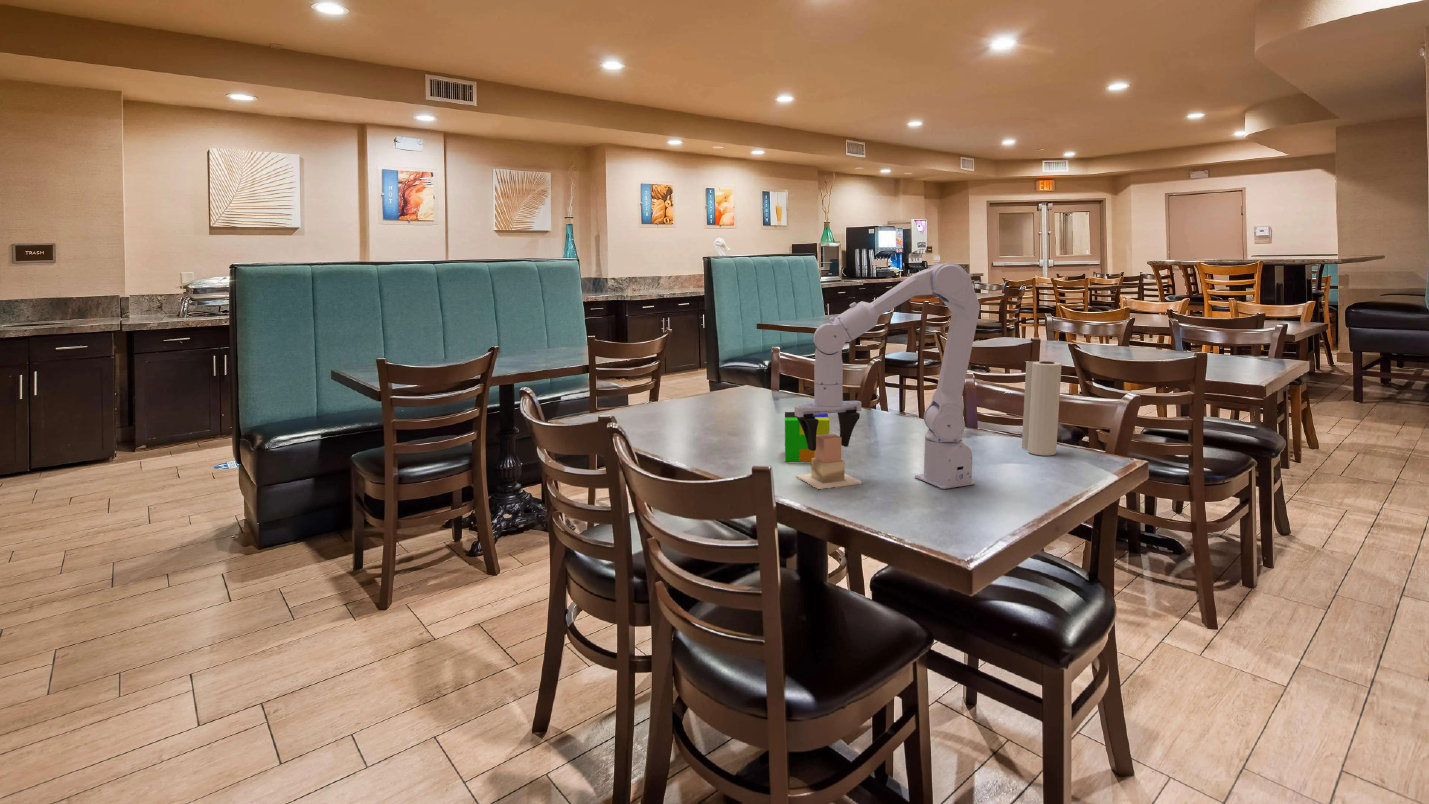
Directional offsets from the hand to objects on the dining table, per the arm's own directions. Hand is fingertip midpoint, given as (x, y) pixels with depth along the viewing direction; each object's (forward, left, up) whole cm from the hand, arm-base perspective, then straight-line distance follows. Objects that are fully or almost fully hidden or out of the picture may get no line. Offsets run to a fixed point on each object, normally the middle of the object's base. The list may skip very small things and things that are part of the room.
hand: (828, 447), depth 151 cm
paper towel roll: (-1, -56, -7) cm, 56 cm away
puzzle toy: (+19, -5, -7) cm, 21 cm away
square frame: (0, 0, -7) cm, 7 cm away
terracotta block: (0, 0, -3) cm, 3 cm away
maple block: (0, 0, -7) cm, 7 cm away
